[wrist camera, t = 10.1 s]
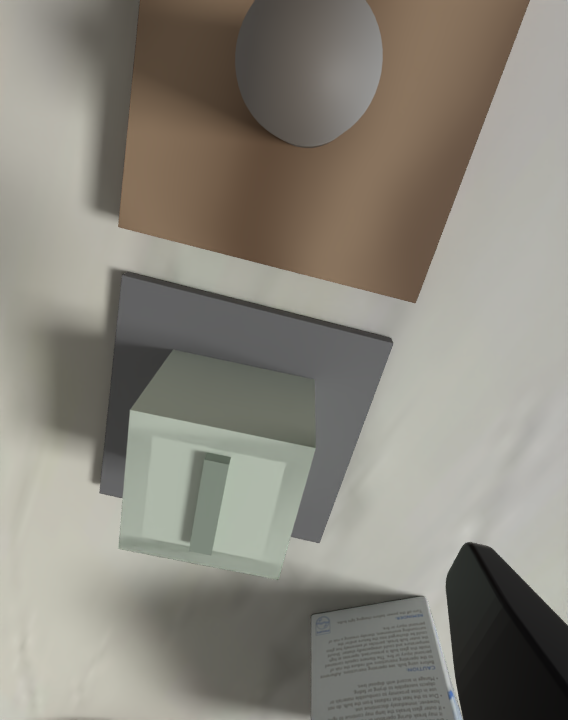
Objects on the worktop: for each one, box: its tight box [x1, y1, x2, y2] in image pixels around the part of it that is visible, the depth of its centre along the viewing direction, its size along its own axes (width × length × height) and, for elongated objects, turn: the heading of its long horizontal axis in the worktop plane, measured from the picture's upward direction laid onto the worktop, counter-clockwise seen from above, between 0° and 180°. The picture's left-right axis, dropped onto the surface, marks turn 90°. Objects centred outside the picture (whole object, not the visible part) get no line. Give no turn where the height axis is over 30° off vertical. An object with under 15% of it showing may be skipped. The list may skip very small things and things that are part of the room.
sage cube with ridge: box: [118, 350, 316, 580], centre depth 18 cm, size 6×6×5 cm
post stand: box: [118, 0, 530, 303], centre depth 13 cm, size 11×11×7 cm
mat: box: [100, 272, 393, 543], centre depth 21 cm, size 11×11×1 cm
